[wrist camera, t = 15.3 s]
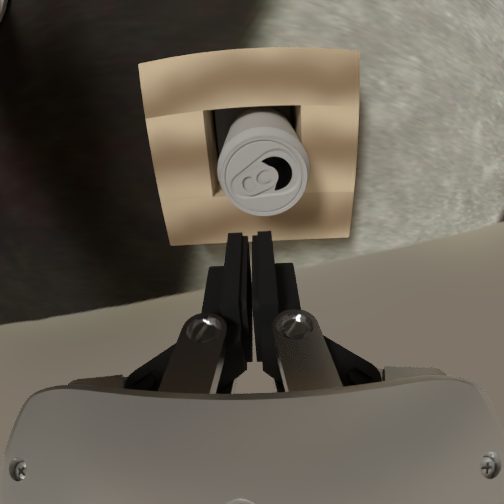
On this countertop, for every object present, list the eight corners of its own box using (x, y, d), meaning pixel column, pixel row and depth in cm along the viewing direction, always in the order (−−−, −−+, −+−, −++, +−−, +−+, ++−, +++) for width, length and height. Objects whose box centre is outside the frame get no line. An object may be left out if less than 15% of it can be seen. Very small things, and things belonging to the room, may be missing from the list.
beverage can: (302, 151, 30) (326, 202, 20) (244, 174, 32) (240, 234, 22) (277, 95, 27) (292, 115, 17) (217, 121, 28) (197, 156, 19)
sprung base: (215, 104, 28) (214, 105, 27) (289, 100, 28) (290, 101, 27) (221, 170, 32) (221, 173, 32) (290, 167, 32) (291, 170, 31)
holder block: (162, 62, 26) (138, 64, 20) (337, 52, 26) (359, 51, 20) (183, 212, 37) (170, 245, 31) (333, 205, 36) (348, 237, 30)
